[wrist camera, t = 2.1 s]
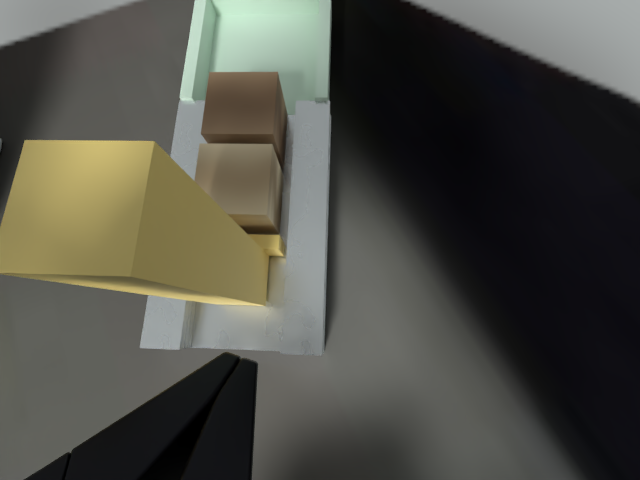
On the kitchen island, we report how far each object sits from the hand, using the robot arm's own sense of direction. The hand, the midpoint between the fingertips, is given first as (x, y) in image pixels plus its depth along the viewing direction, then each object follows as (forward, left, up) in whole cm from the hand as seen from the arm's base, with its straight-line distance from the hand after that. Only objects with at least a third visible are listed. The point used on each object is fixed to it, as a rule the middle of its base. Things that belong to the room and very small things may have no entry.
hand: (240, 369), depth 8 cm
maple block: (+4, +8, -11) cm, 14 cm away
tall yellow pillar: (0, +5, -11) cm, 12 cm away
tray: (+12, +16, -12) cm, 24 cm away
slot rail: (+3, +7, -12) cm, 15 cm away
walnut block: (+7, +11, -11) cm, 17 cm away
